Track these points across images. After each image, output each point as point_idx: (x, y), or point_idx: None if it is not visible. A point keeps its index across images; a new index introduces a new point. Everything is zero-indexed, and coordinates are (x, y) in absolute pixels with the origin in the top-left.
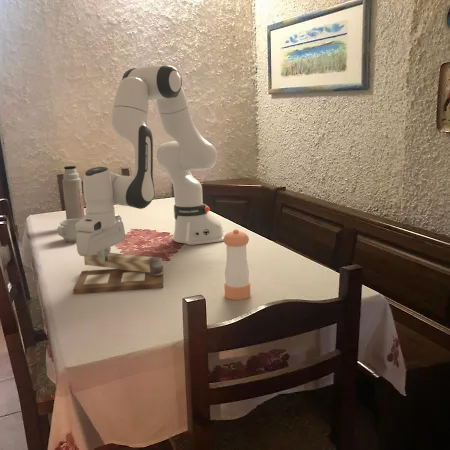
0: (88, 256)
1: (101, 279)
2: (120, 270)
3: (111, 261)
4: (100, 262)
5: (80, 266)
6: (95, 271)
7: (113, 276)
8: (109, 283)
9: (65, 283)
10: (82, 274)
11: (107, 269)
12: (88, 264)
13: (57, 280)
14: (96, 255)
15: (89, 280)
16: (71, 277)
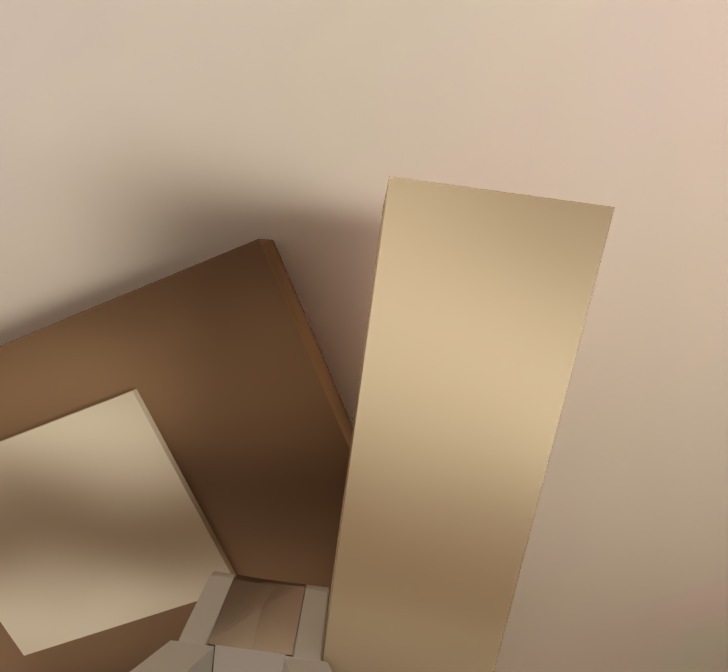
0: (371, 300)
1: (70, 579)
2: None
3: None
4: (214, 578)
5: (571, 22)
6: (281, 405)
7: None
8: (31, 665)
9: (19, 185)
10: (157, 308)
11: None
12: (374, 270)
13: (61, 25)
14: (347, 495)
15: (7, 486)
16: (190, 144)
